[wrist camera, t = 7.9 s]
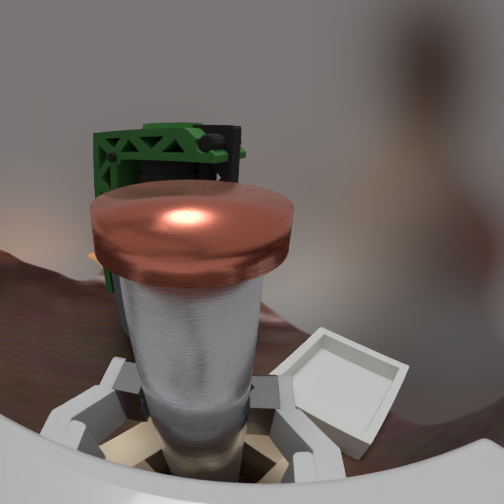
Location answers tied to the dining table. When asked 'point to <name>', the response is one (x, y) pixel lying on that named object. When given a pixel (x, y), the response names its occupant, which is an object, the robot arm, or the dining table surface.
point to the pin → (193, 305)
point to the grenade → (163, 163)
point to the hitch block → (152, 459)
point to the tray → (343, 388)
